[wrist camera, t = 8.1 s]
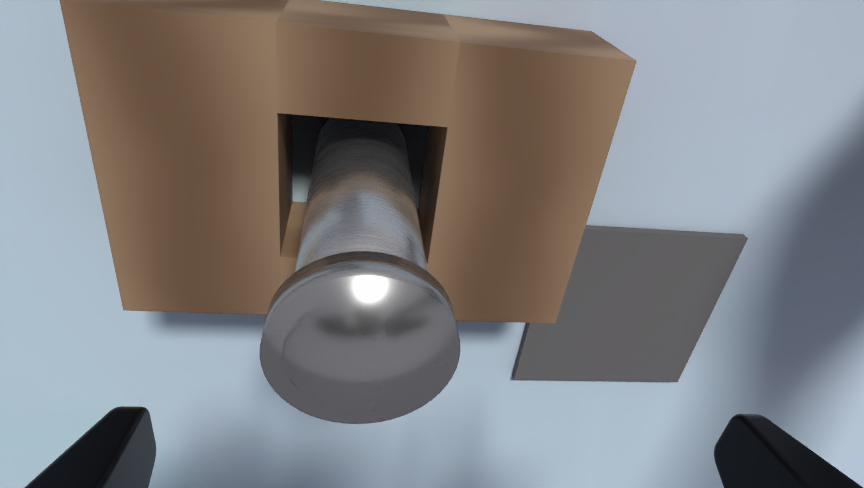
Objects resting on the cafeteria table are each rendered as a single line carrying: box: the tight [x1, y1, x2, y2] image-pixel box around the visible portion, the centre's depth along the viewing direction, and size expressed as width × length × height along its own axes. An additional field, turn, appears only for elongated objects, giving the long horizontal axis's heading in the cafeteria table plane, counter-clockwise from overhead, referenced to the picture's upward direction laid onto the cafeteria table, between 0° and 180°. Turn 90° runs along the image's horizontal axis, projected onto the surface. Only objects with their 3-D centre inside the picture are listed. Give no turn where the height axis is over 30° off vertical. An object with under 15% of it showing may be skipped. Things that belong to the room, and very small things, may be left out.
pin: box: [260, 118, 460, 424], centre depth 15 cm, size 4×4×10 cm
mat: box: [513, 225, 748, 382], centre depth 24 cm, size 8×8×1 cm
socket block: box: [60, 0, 636, 323], centre depth 18 cm, size 14×9×4 cm, turn 83°
